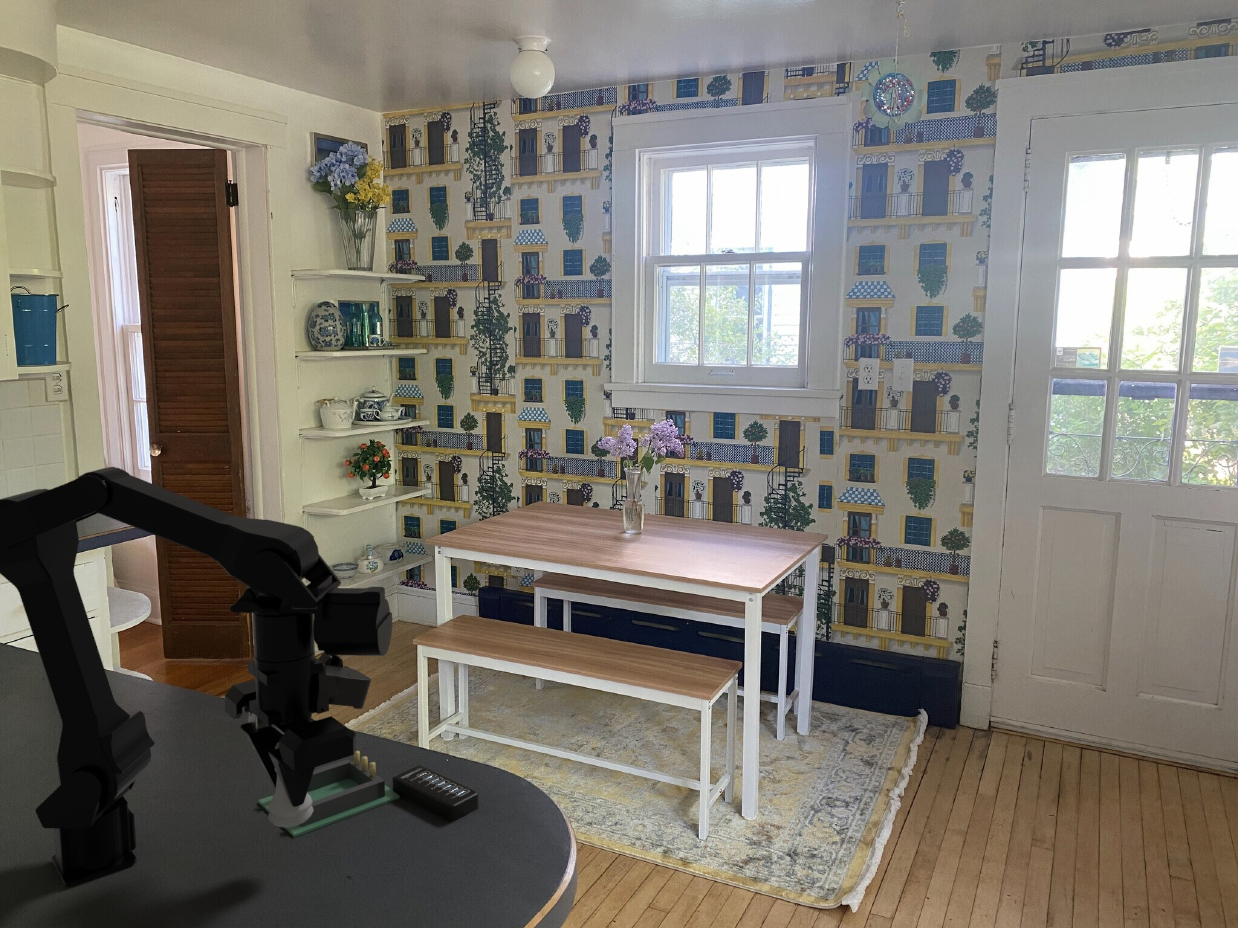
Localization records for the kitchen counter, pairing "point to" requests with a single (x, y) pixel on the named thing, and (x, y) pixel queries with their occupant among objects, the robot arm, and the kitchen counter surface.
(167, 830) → the kitchen counter surface
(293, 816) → the rook chess piece
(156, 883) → the kitchen counter surface
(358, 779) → the header socket
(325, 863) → the kitchen counter surface
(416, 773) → the multiport hub
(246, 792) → the kitchen counter surface
